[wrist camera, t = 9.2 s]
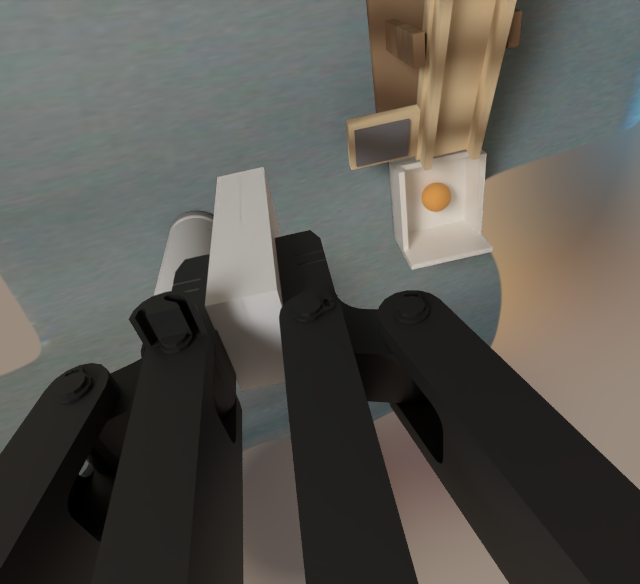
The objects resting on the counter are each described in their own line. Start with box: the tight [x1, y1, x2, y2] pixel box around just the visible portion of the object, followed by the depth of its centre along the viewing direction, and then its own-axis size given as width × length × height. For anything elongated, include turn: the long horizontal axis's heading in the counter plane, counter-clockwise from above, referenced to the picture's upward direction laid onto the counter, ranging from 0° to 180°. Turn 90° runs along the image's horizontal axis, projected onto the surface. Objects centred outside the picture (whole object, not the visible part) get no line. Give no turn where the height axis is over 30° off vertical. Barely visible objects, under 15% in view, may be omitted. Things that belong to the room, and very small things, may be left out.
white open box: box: [389, 149, 493, 269], centre depth 49 cm, size 10×9×7 cm
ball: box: [421, 183, 451, 212], centre depth 50 cm, size 3×3×3 cm
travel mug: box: [141, 211, 214, 358], centre depth 43 cm, size 6×7×20 cm
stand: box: [366, 0, 522, 113], centre depth 38 cm, size 14×11×9 cm
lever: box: [346, 0, 517, 171], centre depth 35 cm, size 22×12×3 cm, turn 10°
